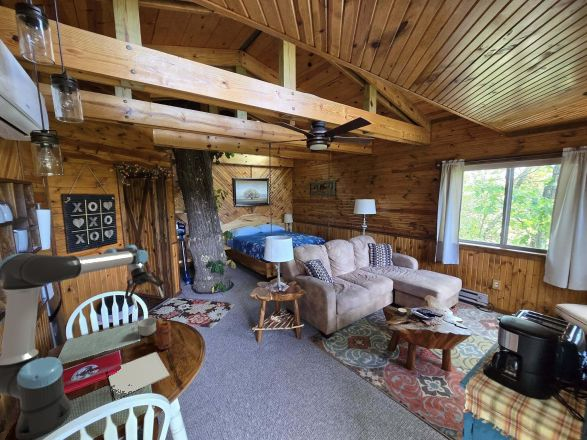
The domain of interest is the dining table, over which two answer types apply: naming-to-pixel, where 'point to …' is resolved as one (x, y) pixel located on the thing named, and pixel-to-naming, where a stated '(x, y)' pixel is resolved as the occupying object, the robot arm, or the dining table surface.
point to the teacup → (146, 327)
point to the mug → (163, 334)
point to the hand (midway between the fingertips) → (149, 302)
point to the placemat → (139, 373)
